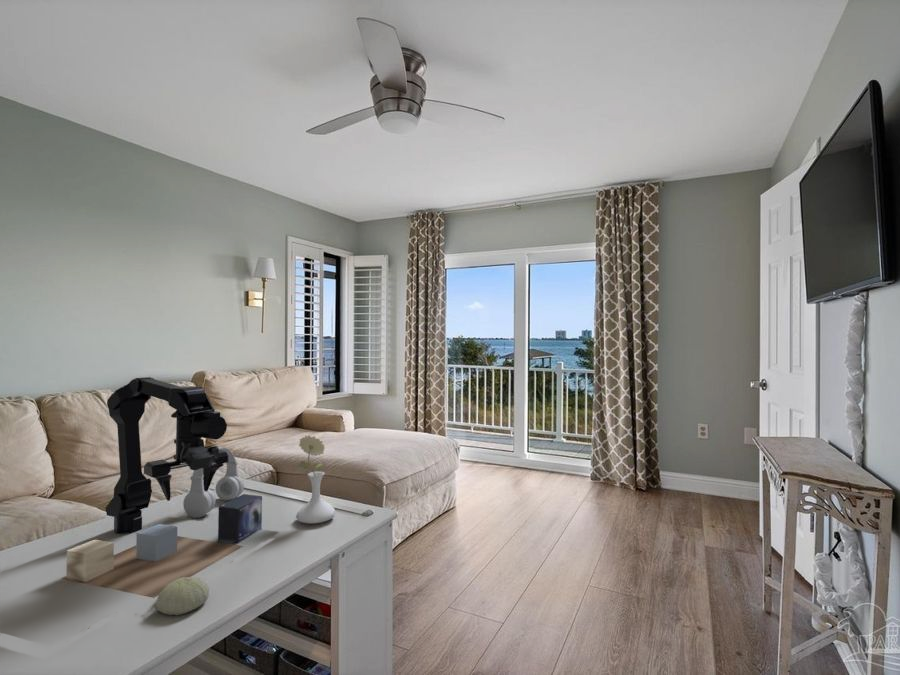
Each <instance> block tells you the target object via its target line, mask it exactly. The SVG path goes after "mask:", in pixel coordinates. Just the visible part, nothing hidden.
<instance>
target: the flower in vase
mask: <svg viewBox="0 0 900 675" xmlns="http://www.w3.org/2000/svg"><path fill="white" fill-rule="evenodd" d="M298 446H299V447H300V448H301V450H303V452H304V453H305V454H308V456H307V461H304V460H302V461H301V462H300V463H299V464H298V467H302V468H305V469H308V468H310V469H311V471H312V472H309V473H307V477H308V478H309V479H310V483H311V498H310V500H309V501H308V502H307V503H305V505H303V506H302V507H301V508H300V509H299V510H298V511H297V512H296V515H295V517H296V519H297V521H298V522H300V523H302V524H310V525H311V524H312V525H314V524H320V523H324V522H327V521H329V520H331V519H333V518H334V517H335V515H336V510H335V508H334V507H333V506H332V505H331V504H329V503H328V502H327V501H325V500H324V499H322V497H321V482H322V479H323V477H324V476H325V474H326V473H325V472H324V471H314V470H317V469H319V468H320V467H322V465H323V464H324V462H322V463H319V464H317V465H315V467H314V468H313V467H312V465H311V463H310V456H313V457H315V456H316V457H317V456H321V455H323V454H324V452H325V449H326V448H325V444H323V440H321V439H320V438H316V436H311V435H305V436H304V437H301V438H300V439H299V443H298Z"/></svg>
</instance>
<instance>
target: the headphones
mask: <svg viewBox="0 0 900 675" xmlns="http://www.w3.org/2000/svg"><path fill="white" fill-rule="evenodd" d="M217 447H218V448H219V450H222V451H225V452H227V453H228V455H229V462H228V463H225V465H226V471H225V475H224V476H223V477H221V478H220V479H218V481H217V482H216V485H215V493H216V495H217V497H218V498H219V499H220V500H221V501H227V502H229V501H231V500H233V499H235V498H237V497H239V496H241V495H242V493H243V492H244V488H245V483H244V480H243V478H242V477H241V476H240V475H239V471H238V465H239V462H238V461H237V460H236V457H235V455H234V453H233V452H232V450H231V449H230V448H228V447H224V446H223V447H222V446H221V447H219V446H217ZM189 479H190V481H191V483H190V487H189V488H190V489H189V492H188V493H187V494H186V495H185V497H184V499H183V509H184V511H185V514H187V515H188V517H190V518H193V519H199V518H203V517H204V516H206V515H207V514H208V513H210V512H211V511H212V510H213V509H214V507H215V505H216V496H215V494H214V492H213V491H212V490H210V488H209V489H208V491H204V485H203V468H201V469H198V470H193V473H192V475H191V476H190V478H189Z"/></svg>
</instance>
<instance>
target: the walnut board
mask: <svg viewBox="0 0 900 675" xmlns="http://www.w3.org/2000/svg"><path fill="white" fill-rule="evenodd" d="M243 547H244V546H243V545H238V544H234V543H226V542H218V541H213V540H207V539H199V538H192V537H187V536H186V537H185V536H178V535H177V551H176V552H174V553H172V554H170V555H168V556H166V557H164V558H162V559H160V560H158V561H156V562H155V561H149V560H143V559H138V558H136V545H134V546H132V547H129V548H127V549H124V550H122V551H120V552H118V553H116V554H114V569H112V570H110V571H108V572H106V573H104V574H102V575H100V576H97V577H95V578H93V579H91V580H89V581H87V582H84V581H79V580H74V579H69V578H66V576H63V577H61V578H60V579H61V580H64V581H65V580H66V581H70V582H74V583H75V582H76V583H81V584H86V585H90V586H94V587H100V588H104V589H108V590H109V589H110V590H114V591H119V592H124V593H127V594H128V593H129V594H134V595H138V596H143V597H148V598H153V599H155V598H156V597H157V598H158V596H159V594H160V592H161V591H162V590H163V589H164V588H165V587H166V586H167V585H168V584H169V583H171V582H173V581H174V580H176V579H180V578H183V577H194V576H196V574H199V573H200V572H201V571H203V570H205V569H207V568H208V567H211V566H212V565H213V564H216V563H217V562H218V561H221V560H222V559H223V558H225V557H228V556H229V555H232V553H234V552H236V551H238V550H240V549H241V548H243Z"/></svg>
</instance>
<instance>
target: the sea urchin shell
mask: <svg viewBox="0 0 900 675" xmlns="http://www.w3.org/2000/svg"><path fill="white" fill-rule="evenodd" d="M209 589H210V587H209V586H208V583H207V582H206V581H205V580H203V579H201V577H197V576H191V577H183V578H180V579H176V580H174V581H173V582H171V583H169V584H168V585H167V586H166V587H165V588H164V589H163V590H162V591H161V592H160V594H159V595H158V596H157V599H156V602H155V606H156V609H157V611H158V612H160V613H162V614H165V615H169V616H173V615H175V616H179V615H184V614H186V613H190V612H192V611H193V610H197V609H199V607H201V606H203V605H204V604H205V603H206V602H207V600H208V599H209V594H210V590H209Z"/></svg>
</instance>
